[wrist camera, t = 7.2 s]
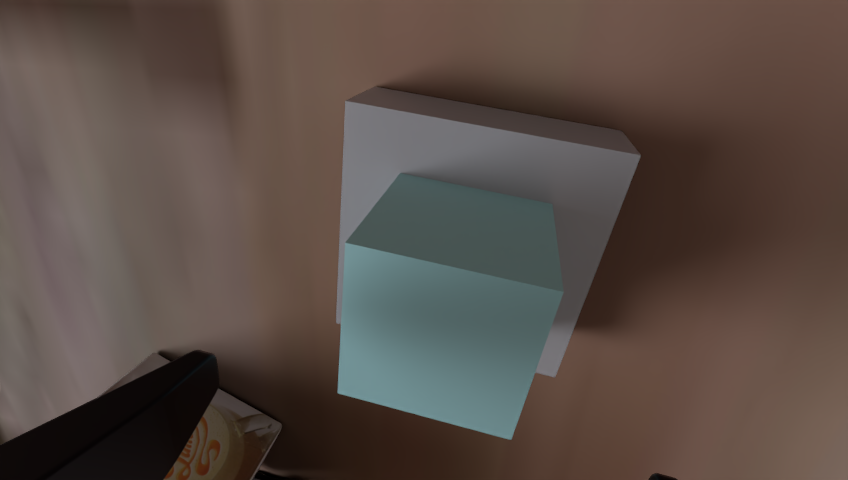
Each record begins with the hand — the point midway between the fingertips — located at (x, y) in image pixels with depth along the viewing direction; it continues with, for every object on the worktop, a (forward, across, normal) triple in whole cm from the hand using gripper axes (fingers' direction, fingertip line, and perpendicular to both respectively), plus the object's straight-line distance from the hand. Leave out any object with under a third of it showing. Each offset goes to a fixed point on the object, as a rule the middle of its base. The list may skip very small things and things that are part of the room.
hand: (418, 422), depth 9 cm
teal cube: (+7, 0, 0) cm, 7 cm away
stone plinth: (+10, 0, 0) cm, 10 cm away
